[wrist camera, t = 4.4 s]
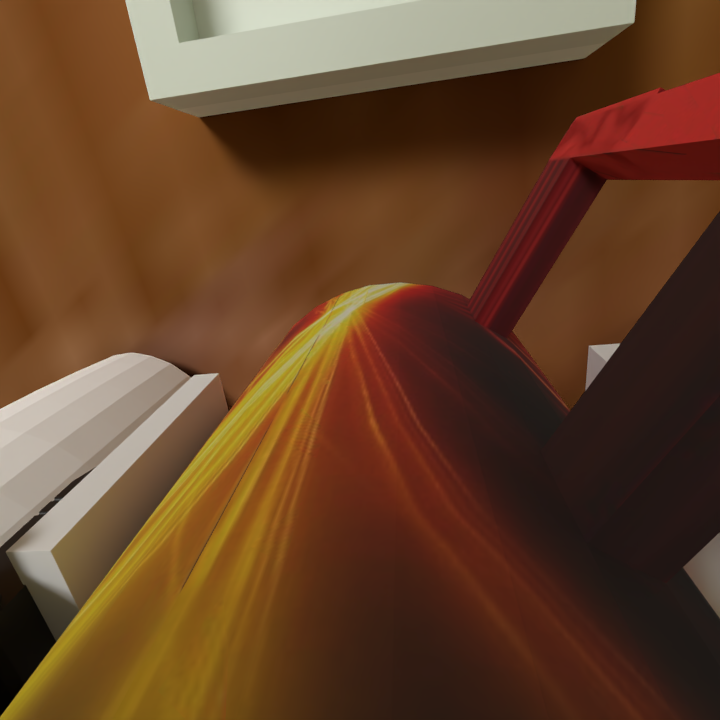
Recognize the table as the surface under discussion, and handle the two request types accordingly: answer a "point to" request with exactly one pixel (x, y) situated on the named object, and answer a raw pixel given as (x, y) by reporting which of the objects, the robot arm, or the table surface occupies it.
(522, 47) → the tray
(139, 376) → the cup
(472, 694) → the mug
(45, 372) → the table surface
